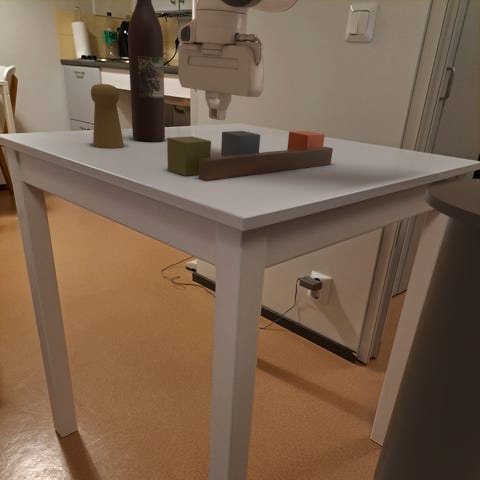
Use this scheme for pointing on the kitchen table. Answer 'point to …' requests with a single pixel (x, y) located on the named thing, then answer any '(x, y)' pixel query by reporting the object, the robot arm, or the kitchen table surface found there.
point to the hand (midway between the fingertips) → (217, 119)
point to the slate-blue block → (239, 143)
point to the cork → (106, 117)
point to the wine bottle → (146, 73)
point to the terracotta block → (305, 140)
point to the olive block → (186, 154)
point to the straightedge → (262, 162)
